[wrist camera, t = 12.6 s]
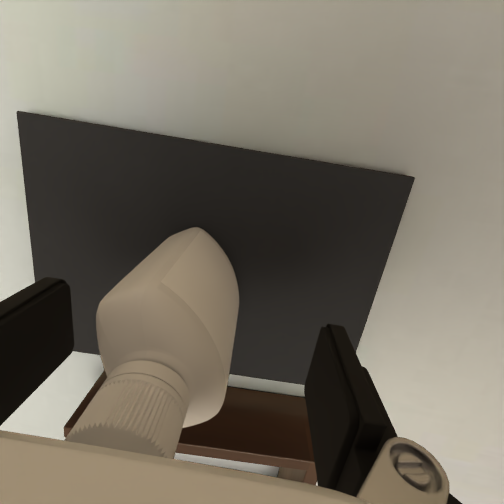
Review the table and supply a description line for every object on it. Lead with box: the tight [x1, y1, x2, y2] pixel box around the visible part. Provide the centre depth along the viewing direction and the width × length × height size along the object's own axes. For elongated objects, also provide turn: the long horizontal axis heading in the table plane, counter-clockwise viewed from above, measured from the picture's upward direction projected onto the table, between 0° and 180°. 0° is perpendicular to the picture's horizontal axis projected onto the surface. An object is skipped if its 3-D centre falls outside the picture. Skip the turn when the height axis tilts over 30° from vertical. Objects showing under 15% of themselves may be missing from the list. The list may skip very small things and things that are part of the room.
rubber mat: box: [17, 111, 415, 385], centre depth 17 cm, size 14×20×1 cm
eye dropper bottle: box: [64, 227, 239, 459], centre depth 11 cm, size 4×6×12 cm
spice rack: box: [64, 370, 317, 485], centre depth 21 cm, size 18×15×4 cm
